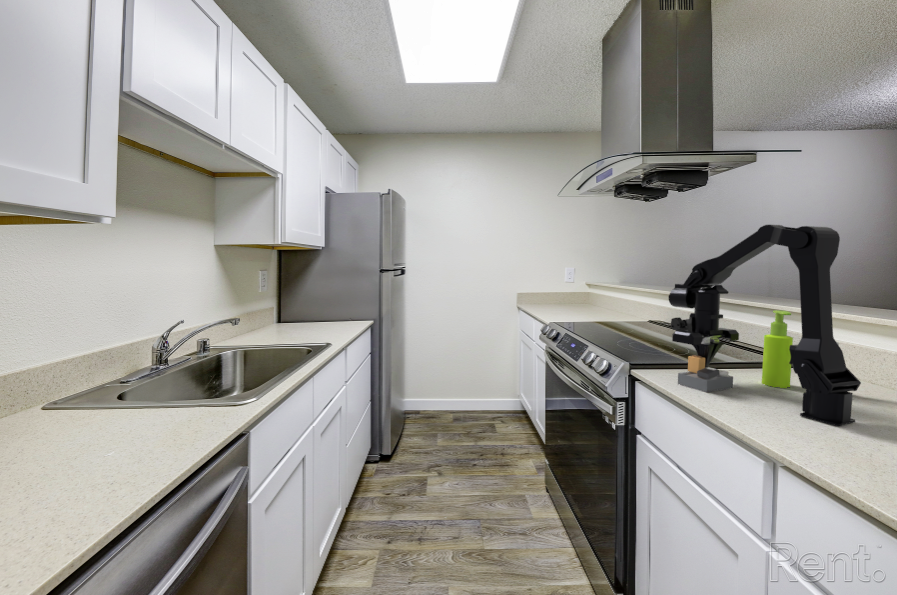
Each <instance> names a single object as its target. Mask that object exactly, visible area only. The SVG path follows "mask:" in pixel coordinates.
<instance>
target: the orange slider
mask: <svg viewBox="0 0 897 595" xmlns="http://www.w3.org/2000/svg"><path fill="white" fill-rule="evenodd" d="M687 360H688V361H687V372H689V371H690V372H694V373H697V371H699V370H701V369H704V368H705V358H703V357H702V356H698V354H697V355H696V354H692V355H690V356H687Z"/></svg>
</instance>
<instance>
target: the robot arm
mask: <svg viewBox="0 0 897 595" xmlns="http://www.w3.org/2000/svg"><path fill="white" fill-rule="evenodd" d="M840 239H841V238H840V234H839V233H838V231H837V230H835V229H833V228H832V227H828V226H811V225H804V226H799V227H791V226H790V227H789V226H784V225H782V224H764V225H762V226H760V227H759V228H758V229H757V231H755V232H754V233H752V234H750V235H749V236H748V237H746V238H744V239H743V240H742V241H739V243H737V244H735V245H734V246H732V247H731V248H729V249H728V250H726V251H725V252H723V253H722V254H720V255H718V256H716V257H714V258H709V259H706V260H704V261H701V262H699V263H696V264H695V265H694V266H693V267H692V269H691V272H690V274H689V275H688V277H687V278H686V280H685V281H684V283H675V284H674V288H672V290H670V292H669V294H668V301H669V304H670V305H671V306H672V307H674V308H682V309H684V308H685V309H694V310H693V311H694V312H691V313H690V314H689V318H686V319H682V317H673V318H671V320H670V328H671V329H672V330H673V331H674V332H673V333H672V338H671V341H672V342H675V343H680V344H685V345H691V347H693V348H694V349H695V351H696V354H697V356H702V357H703V358H705V368H707V367H709V365H710V364H711V362H712V361H713V359H714V358H715V356H716V354H717V353H718V352H719V350H720V349H721V348H722V346H724V345H725V342H723V341H720V339H722V338H723V339H729V341H733V342H734V341H735V342H736V341H740V340H739V339H740V333H739V331H737V330H736V329H732V328H727V327H726V328H724V327H720V319H724V314H721V313H720V306H721V295H728V294H729V291H728V290H727V289H726V288H725V287H724V286H723V285H722V284H723V283H724V282H725V281H726V280H727V279H728V278H730V276H731V275H732V274H733V272H734V270H736V269H737V268H738V267H740V266H742V265H743V264H744V263H746V262H748V261H750V260H752V259H753V258H755V257H757V256H758V255H759V254H762V253H763V252H765V251H766V250H768V249H769V248H771V247H772V246H773V247H774V245H777V246H783V247H786V248H787V249H788V253H789V257H790V259H791V261H792V262H793V264H794V265H795V267H796V268H797V269H798V276H799V277H798V280H799V296H800V297H799V298H800V299H799V300H800V318H801V319H800V320H801V321H800V323H801V339H800V340H799V342H798V343H797V344H793V345H790V348H789V350H790V354H791V360H790V362H789V364H791V365H792V369H793V373H795V374H797V377H798V380H799V383H800V386H801V388H802V389H804V390H805V392H803V393H802V405H801V406H802V408H801V411H802V412H800V413H799V416H800V417H802V418H803V417H804V418H806V419H810V420H814V421H817V422H822V423H825V424H828V425H831V426H834V427H836V426H837V427H842V426H845V425H849V424H853V423H855V422H856V419H855V418H852V408H853V407H852V406H853V405H852V404H853V392H857V391H858V390H859V387H860V386H861V384H862V382H861V380H859V379H858V378H857V377H856V375H854V373H853V372H851V370H850V369H849V368H848V367H847V365H846V361H845V357H844V353H843V350H842V349H841V347H840V345H838V344H837V341H836V339H835V338H834V330H833V329H834V327H833V308H832V307H833V305H832V289H831V284H832V282H831V267H832V266H833V264H834V262H835V260H836V258H837V256H838V253H839V246H840V241H841V240H840ZM731 277H732V276H731Z"/></svg>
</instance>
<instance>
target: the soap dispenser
mask: <svg viewBox="0 0 897 595" xmlns="http://www.w3.org/2000/svg"><path fill="white" fill-rule="evenodd" d="M772 312H773V313H774V314H775V318H774V321H773V322H771V323H770V332H769V334H764V336H763V353H762V354H763V355H762V370H761V371H762V373H761V384H762V385H763V384H765V385H764V386H766V385H768V386H767V387H770V386H773V387H772V388H776V387H780V388H779V389H788V388H787V387H790V388H791V374H792V364H789V362H790V360H791V354H790V350H789V348H790V345H794V344H793V342H794V341H793V340H794V338H793V336H791V335H790V336H789V335H788V323H786V322H785V321H784V316H792V312H789V311H787V310H773V311H772Z"/></svg>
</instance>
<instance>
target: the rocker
mask: <svg viewBox="0 0 897 595" xmlns="http://www.w3.org/2000/svg"><path fill="white" fill-rule="evenodd" d="M719 370H720V369H717V368H713V367H709V366H708V367H706V368H704V369H701V370H699V371H697V376H698V377H702V378H706V379H711V378H713V377H716V376H718V375H719Z"/></svg>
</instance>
